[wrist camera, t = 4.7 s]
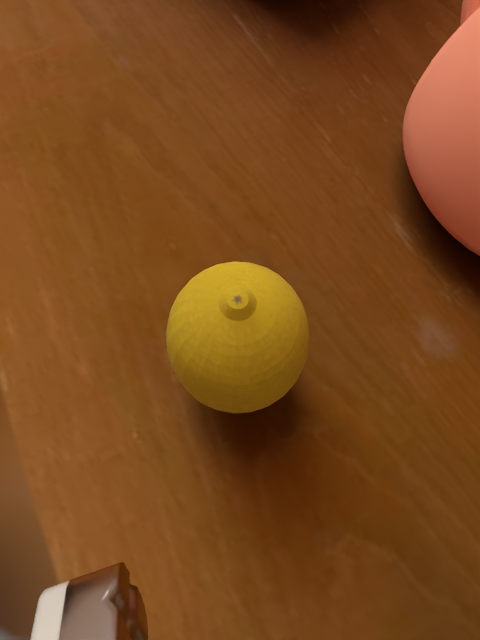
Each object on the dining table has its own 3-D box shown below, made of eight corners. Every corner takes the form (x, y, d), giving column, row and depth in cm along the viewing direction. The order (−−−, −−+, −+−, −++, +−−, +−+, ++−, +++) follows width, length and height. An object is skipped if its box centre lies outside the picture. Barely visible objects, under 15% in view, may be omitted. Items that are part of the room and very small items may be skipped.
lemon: (156, 379, 20) (109, 316, 13) (226, 295, 22) (220, 194, 14) (251, 451, 19) (259, 427, 11) (317, 355, 21) (361, 280, 13)
